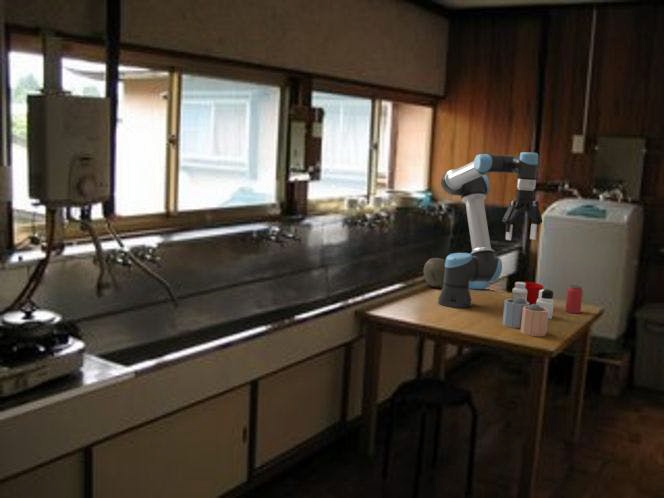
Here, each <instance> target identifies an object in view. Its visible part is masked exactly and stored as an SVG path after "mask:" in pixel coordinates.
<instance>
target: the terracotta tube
mask: <svg viewBox="0 0 664 498" xmlns="http://www.w3.org/2000/svg"><path fill="white" fill-rule="evenodd" d="M527 308H528V306H524V307H523V312H522V321H521V328H520V331H519V332H520V333H522V334H524V335H526V336H530V337H531V336H532V337H545V336H546V335H547V329H548V328H547V327H548V320H549V319H548V311H549V310H548V309H546V308H543V307H541V309H542V311H533V310H528V309H527Z"/></svg>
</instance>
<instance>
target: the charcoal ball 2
mask: <svg viewBox="0 0 664 498" xmlns="http://www.w3.org/2000/svg"><path fill="white" fill-rule="evenodd" d="M527 309H528V310H533V311H542V309H541V307H540V306H539V305H537V304H531V305H530V306H528V308H527Z"/></svg>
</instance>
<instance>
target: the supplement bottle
mask: <svg viewBox="0 0 664 498" xmlns="http://www.w3.org/2000/svg"><path fill="white" fill-rule="evenodd" d="M523 282H524V281H515V282H514V287H513V288H512V290H511V299H516V298H522V299H524V300H525V301H527V289H525V286H526V283H523Z"/></svg>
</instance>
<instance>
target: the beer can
mask: <svg viewBox="0 0 664 498" xmlns="http://www.w3.org/2000/svg"><path fill="white" fill-rule="evenodd" d="M583 291H584V290H583V287H582V286H580V285H574V284H569V286H568V289H567V292H566V293H567V294H566V302H565V311H566V313H568V314H580V313H581V309H582V301H583V294H584V293H583Z"/></svg>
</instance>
